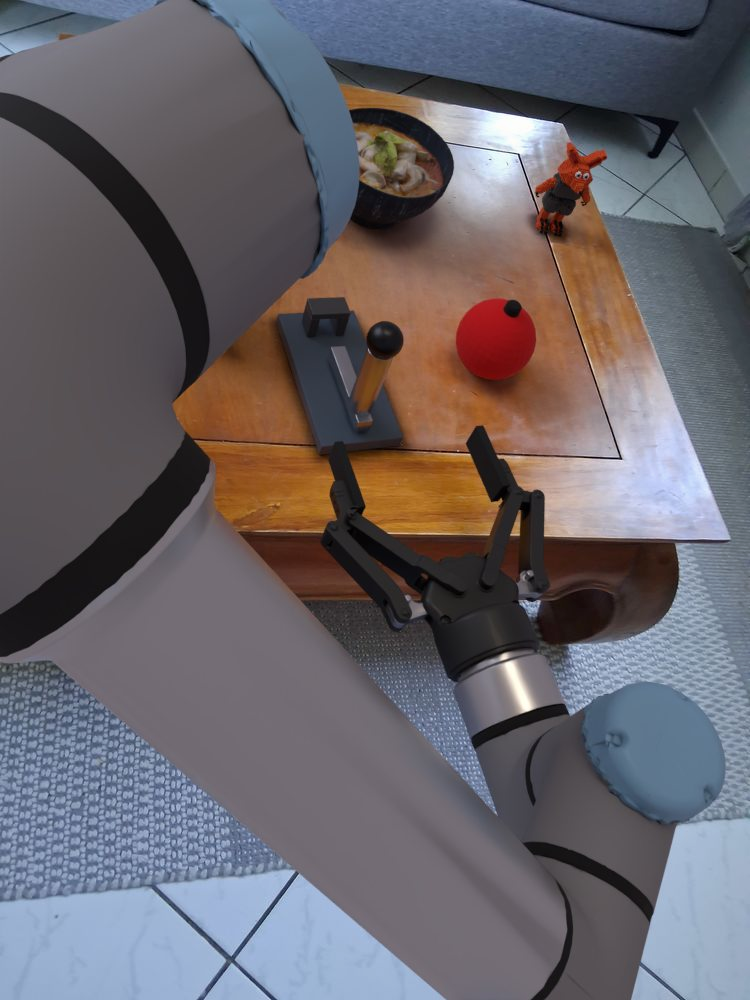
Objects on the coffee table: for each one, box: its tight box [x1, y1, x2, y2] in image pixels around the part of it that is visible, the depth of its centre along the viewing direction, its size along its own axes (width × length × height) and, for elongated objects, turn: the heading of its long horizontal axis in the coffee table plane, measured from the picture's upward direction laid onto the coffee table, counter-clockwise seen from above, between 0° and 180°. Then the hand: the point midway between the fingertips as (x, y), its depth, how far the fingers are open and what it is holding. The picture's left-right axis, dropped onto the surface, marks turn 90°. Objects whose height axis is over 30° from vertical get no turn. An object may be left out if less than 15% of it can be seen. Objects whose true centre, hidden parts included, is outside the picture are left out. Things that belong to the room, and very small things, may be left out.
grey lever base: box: [275, 296, 404, 456], centre depth 80 cm, size 18×9×5 cm, turn 18°
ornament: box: [455, 297, 537, 381], centre depth 86 cm, size 9×9×10 cm
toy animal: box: [534, 141, 608, 238], centre depth 103 cm, size 8×6×12 cm
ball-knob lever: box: [328, 320, 404, 432], centre depth 74 cm, size 10×3×13 cm, turn 18°
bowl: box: [349, 107, 455, 230], centre depth 96 cm, size 17×17×10 cm
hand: (407, 441), depth 67 cm, fingers open, 13 cm apart
